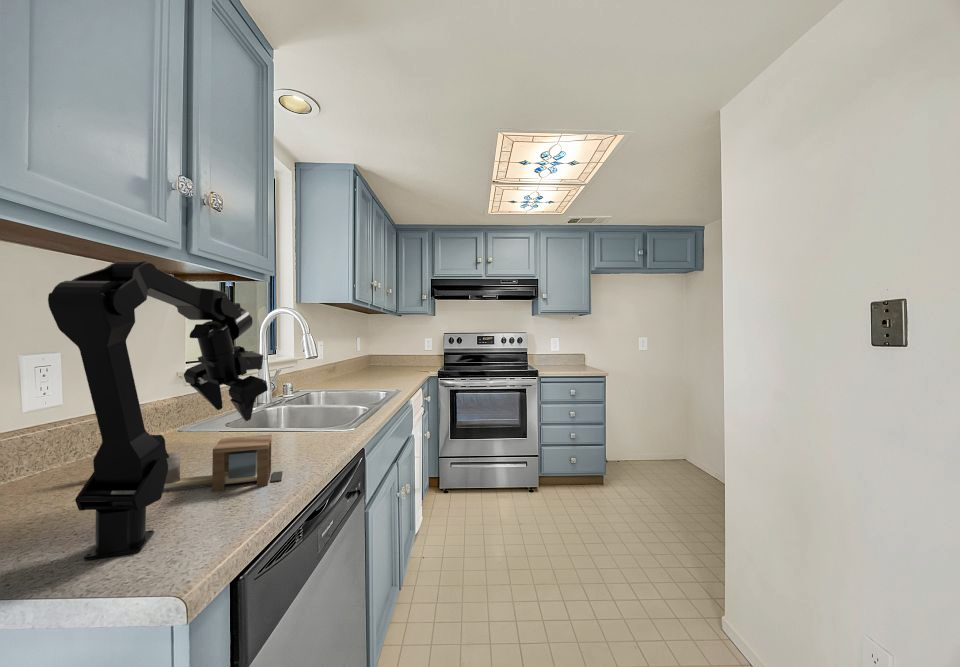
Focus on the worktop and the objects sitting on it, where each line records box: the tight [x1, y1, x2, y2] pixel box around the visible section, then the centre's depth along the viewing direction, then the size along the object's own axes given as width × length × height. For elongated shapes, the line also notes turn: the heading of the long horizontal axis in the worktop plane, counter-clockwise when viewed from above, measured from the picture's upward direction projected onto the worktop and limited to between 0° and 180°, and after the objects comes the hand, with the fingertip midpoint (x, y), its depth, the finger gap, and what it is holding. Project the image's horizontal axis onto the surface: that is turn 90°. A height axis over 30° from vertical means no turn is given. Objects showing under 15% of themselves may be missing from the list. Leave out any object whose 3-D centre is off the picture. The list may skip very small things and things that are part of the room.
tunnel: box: [211, 434, 272, 493], centre depth 92 cm, size 10×10×8 cm
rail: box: [111, 473, 271, 494], centre depth 88 cm, size 2×32×1 cm, turn 113°
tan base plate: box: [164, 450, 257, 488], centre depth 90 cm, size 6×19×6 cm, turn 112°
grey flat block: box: [270, 470, 284, 483], centre depth 95 cm, size 6×2×1 cm, turn 22°
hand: (233, 414), depth 93 cm, fingers open, 9 cm apart
